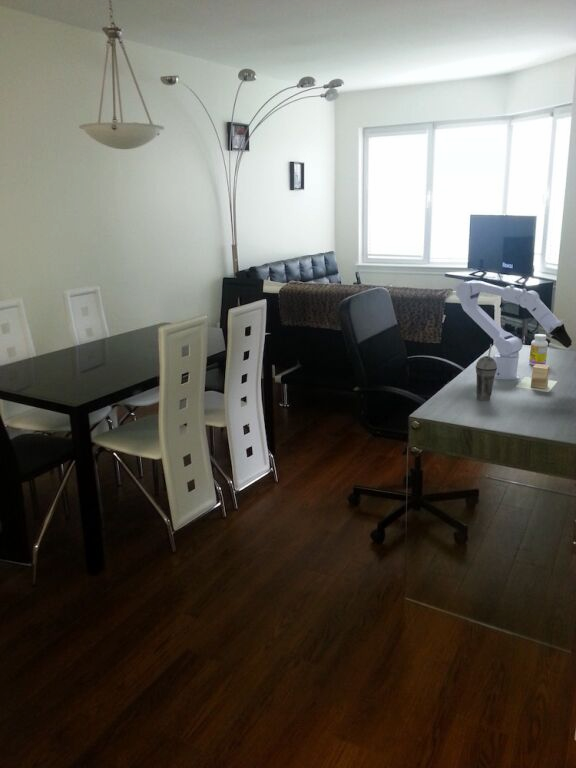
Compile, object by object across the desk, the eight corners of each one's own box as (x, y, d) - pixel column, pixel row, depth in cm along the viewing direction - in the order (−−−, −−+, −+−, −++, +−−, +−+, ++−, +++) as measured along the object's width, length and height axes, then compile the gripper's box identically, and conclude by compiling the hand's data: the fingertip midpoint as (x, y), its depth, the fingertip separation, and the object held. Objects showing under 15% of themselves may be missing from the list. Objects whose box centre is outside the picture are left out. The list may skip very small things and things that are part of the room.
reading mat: (548, 392, 225) (548, 392, 225) (515, 387, 231) (515, 386, 231) (557, 381, 237) (557, 381, 237) (525, 377, 244) (525, 376, 244)
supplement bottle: (526, 362, 265) (529, 333, 261) (542, 362, 265) (545, 333, 261) (532, 366, 259) (535, 336, 255) (547, 366, 259) (551, 336, 255)
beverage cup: (468, 396, 221) (473, 342, 215) (485, 394, 224) (490, 341, 218) (481, 402, 215) (486, 347, 209) (498, 400, 217) (503, 345, 211)
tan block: (544, 389, 228) (547, 368, 225) (530, 387, 230) (532, 366, 228) (547, 385, 232) (549, 365, 229) (533, 383, 234) (535, 363, 232)
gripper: (553, 306, 221) (579, 335, 217) (554, 313, 234) (578, 340, 230) (537, 319, 223) (562, 347, 219) (538, 325, 236) (562, 352, 232)
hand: (569, 345), depth 225 cm, fingers open, 7 cm apart
